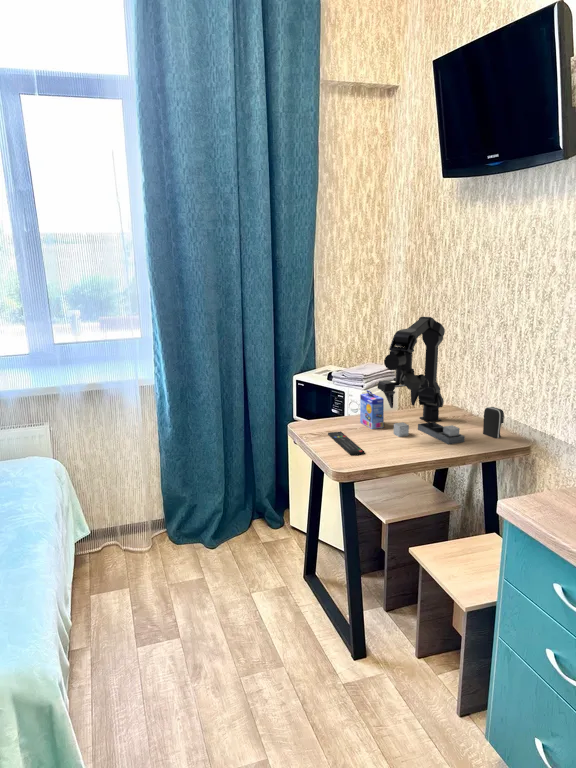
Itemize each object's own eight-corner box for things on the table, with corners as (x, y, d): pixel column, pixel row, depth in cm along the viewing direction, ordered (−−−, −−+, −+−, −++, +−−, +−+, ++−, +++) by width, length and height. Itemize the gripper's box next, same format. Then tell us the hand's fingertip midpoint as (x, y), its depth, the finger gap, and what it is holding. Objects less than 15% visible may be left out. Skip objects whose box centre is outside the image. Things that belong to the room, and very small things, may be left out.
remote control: (340, 434, 221) (341, 431, 221) (365, 455, 199) (365, 452, 198) (327, 436, 220) (327, 432, 219) (351, 457, 197) (351, 453, 197)
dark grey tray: (417, 431, 222) (418, 424, 222) (432, 429, 225) (433, 421, 224) (448, 446, 205) (448, 438, 204) (464, 444, 208) (464, 436, 207)
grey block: (393, 436, 217) (393, 423, 216) (402, 434, 219) (403, 422, 218) (399, 439, 214) (399, 426, 213) (408, 437, 215) (408, 425, 214)
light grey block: (442, 439, 210) (443, 426, 209) (451, 438, 212) (452, 425, 211) (449, 442, 207) (450, 429, 206) (458, 441, 208) (459, 428, 207)
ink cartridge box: (359, 422, 234) (359, 388, 231) (370, 421, 236) (371, 387, 233) (371, 429, 225) (372, 393, 222) (383, 427, 227) (384, 392, 224)
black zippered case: (503, 439, 213) (506, 409, 210) (496, 440, 211) (498, 410, 208) (488, 434, 218) (491, 405, 216) (481, 435, 217) (483, 406, 214)
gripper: (393, 371, 199) (392, 415, 203) (438, 367, 206) (436, 409, 210) (377, 366, 209) (376, 407, 213) (420, 361, 216) (418, 401, 220)
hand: (402, 406), depth 214 cm, fingers open, 9 cm apart
